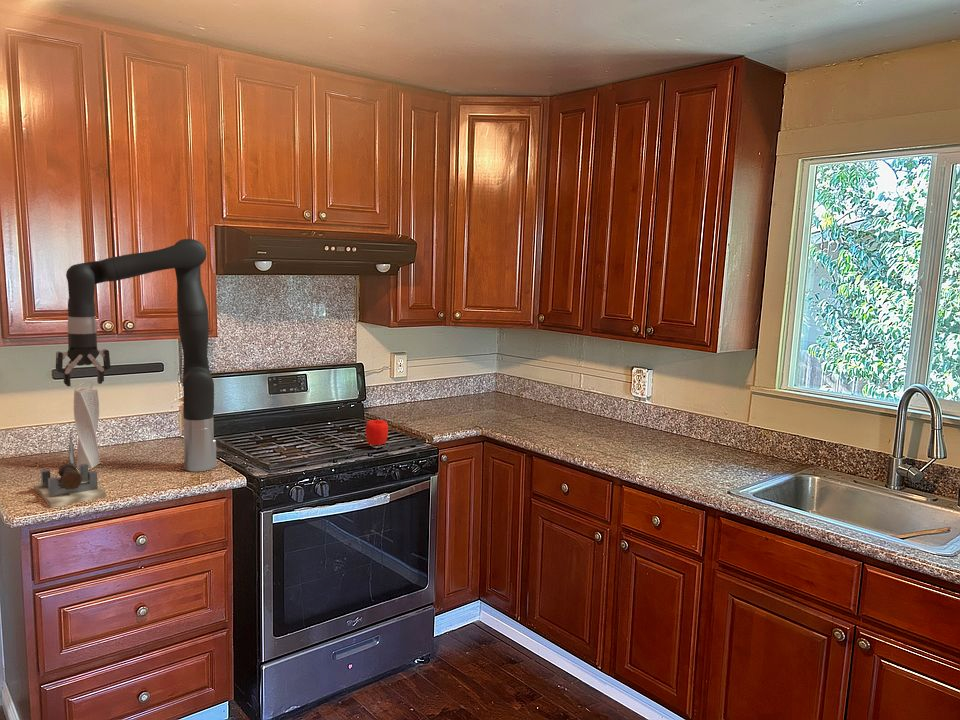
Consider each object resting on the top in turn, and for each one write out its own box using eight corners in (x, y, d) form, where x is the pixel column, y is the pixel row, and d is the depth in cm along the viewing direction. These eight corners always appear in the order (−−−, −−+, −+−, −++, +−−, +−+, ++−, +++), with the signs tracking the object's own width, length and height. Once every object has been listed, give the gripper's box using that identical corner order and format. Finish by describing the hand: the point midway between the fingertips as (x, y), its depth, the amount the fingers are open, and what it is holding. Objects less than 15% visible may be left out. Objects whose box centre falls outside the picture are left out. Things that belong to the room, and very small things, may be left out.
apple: (369, 443, 273) (370, 416, 272) (391, 446, 272) (391, 418, 270) (361, 449, 265) (362, 421, 263) (383, 451, 263) (384, 423, 262)
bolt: (70, 480, 211) (75, 493, 199) (52, 473, 208) (56, 486, 196) (80, 462, 212) (86, 474, 200) (63, 456, 209) (67, 467, 197)
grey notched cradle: (87, 479, 213) (86, 463, 212) (97, 489, 205) (97, 472, 204) (41, 486, 205) (40, 470, 204) (50, 497, 197) (49, 480, 196)
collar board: (86, 479, 217) (86, 475, 217) (106, 497, 203) (106, 492, 203) (34, 488, 208) (33, 483, 207) (50, 507, 193) (50, 502, 193)
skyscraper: (81, 463, 235) (78, 380, 231) (106, 463, 235) (103, 381, 231) (67, 470, 226) (64, 385, 222) (93, 471, 227) (90, 386, 223)
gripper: (104, 329, 217) (106, 380, 220) (51, 331, 208) (54, 384, 210) (112, 331, 212) (113, 384, 214) (58, 333, 202) (60, 389, 205)
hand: (84, 384), depth 212 cm, fingers open, 8 cm apart
